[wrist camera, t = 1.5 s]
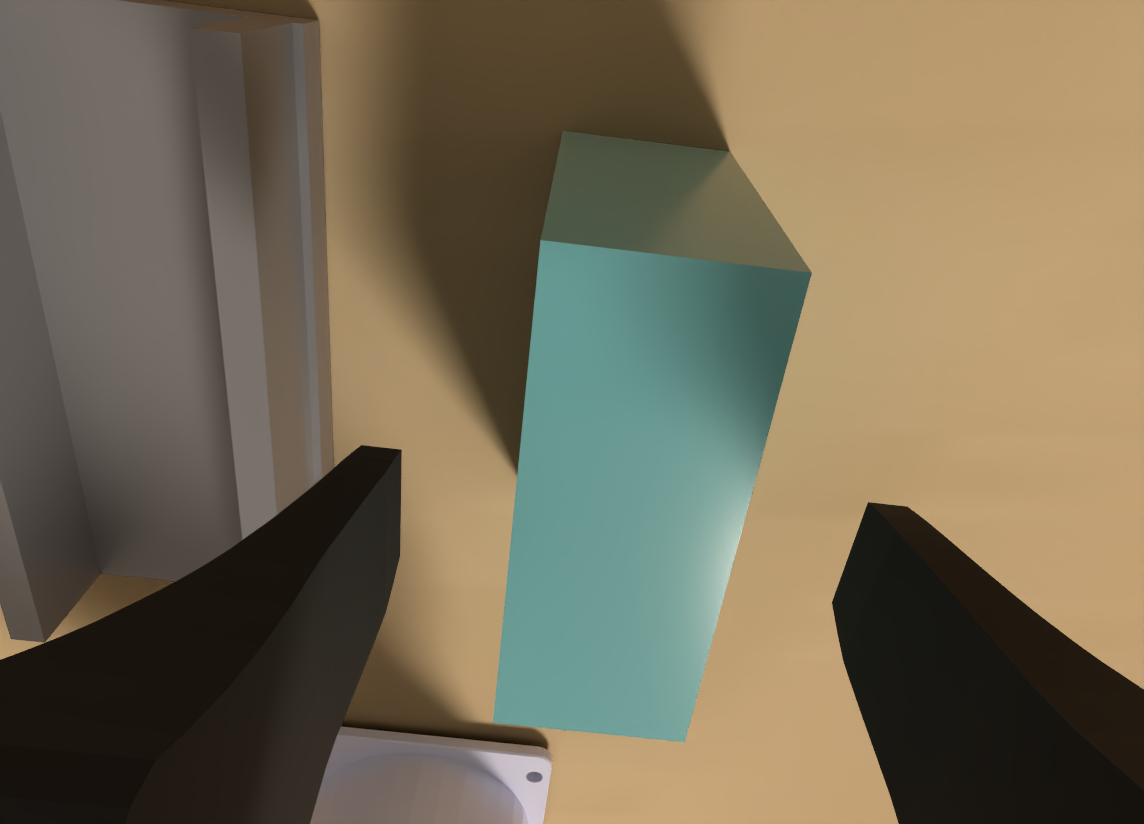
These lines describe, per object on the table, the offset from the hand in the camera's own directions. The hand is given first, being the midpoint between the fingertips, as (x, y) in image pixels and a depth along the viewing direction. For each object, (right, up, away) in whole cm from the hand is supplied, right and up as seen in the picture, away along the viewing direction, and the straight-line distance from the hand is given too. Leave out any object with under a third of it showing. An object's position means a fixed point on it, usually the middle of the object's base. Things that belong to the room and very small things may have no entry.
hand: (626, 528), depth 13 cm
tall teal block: (0, +4, +7) cm, 7 cm away
